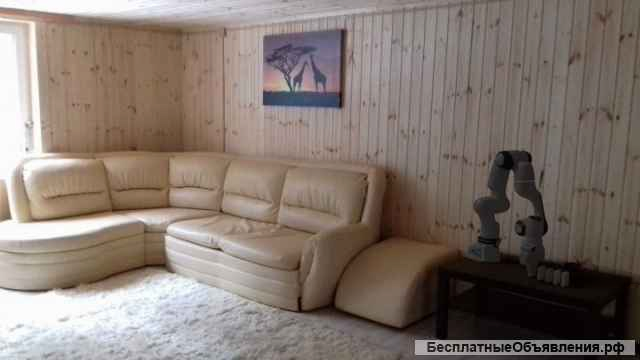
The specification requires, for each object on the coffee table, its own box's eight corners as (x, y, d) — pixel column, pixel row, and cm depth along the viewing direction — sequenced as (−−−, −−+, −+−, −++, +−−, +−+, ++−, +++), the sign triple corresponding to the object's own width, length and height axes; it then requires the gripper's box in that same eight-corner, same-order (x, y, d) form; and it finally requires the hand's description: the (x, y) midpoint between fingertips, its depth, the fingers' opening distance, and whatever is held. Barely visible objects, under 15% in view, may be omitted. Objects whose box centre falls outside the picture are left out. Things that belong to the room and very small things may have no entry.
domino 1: (528, 275, 317) (528, 263, 316) (532, 274, 320) (533, 262, 319) (531, 276, 316) (531, 264, 315) (535, 275, 318) (536, 262, 318)
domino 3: (544, 281, 310) (545, 268, 309) (549, 280, 312) (549, 267, 311) (547, 282, 308) (548, 269, 307) (552, 281, 311) (553, 268, 310)
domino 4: (552, 283, 306) (553, 270, 305) (556, 282, 309) (557, 269, 308) (555, 284, 305) (556, 271, 304) (560, 283, 308) (561, 270, 307)
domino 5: (560, 285, 303) (561, 272, 302) (565, 284, 306) (566, 271, 305) (564, 286, 301) (565, 273, 300) (568, 285, 304) (569, 272, 303)
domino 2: (537, 279, 313) (537, 267, 312) (541, 278, 316) (542, 265, 315) (540, 280, 312) (541, 267, 311) (544, 279, 314) (545, 266, 314)
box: (569, 277, 318) (570, 264, 317) (563, 274, 323) (564, 262, 323) (579, 277, 319) (580, 264, 318) (572, 274, 325) (573, 261, 324)
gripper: (538, 241, 325) (536, 265, 326) (518, 247, 312) (516, 271, 313) (548, 244, 320) (547, 268, 322) (529, 249, 307) (527, 274, 309)
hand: (531, 270), depth 317 cm, fingers closed on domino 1, 4 cm apart
